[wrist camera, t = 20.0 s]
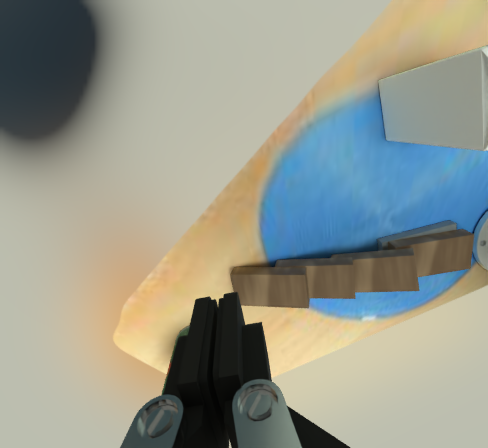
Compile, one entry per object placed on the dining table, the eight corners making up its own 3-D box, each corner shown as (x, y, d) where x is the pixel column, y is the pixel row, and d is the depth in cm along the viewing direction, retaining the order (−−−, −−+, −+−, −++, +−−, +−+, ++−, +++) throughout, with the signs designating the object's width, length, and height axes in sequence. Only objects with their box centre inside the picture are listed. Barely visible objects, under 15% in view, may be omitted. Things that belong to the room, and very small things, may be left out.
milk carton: (442, 123, 35) (657, 122, 17) (384, 140, 36) (536, 157, 18) (437, 60, 33) (681, -16, 15) (376, 80, 33) (541, 29, 15)
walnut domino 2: (277, 259, 41) (352, 257, 37) (282, 289, 42) (354, 289, 39) (274, 266, 39) (353, 264, 36) (279, 297, 41) (355, 298, 37)
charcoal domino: (375, 237, 41) (445, 218, 40) (379, 267, 42) (447, 250, 42) (381, 242, 39) (456, 223, 38) (385, 274, 40) (457, 256, 40)
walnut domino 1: (234, 267, 41) (306, 267, 38) (240, 296, 42) (309, 299, 39) (230, 274, 39) (305, 275, 36) (236, 305, 41) (308, 308, 37)
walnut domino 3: (331, 254, 41) (412, 247, 36) (338, 284, 42) (417, 282, 37) (329, 261, 39) (414, 255, 34) (337, 292, 40) (419, 290, 36)
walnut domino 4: (388, 241, 39) (462, 228, 38) (387, 273, 40) (459, 261, 40) (395, 247, 37) (474, 234, 37) (395, 280, 39) (470, 268, 38)
